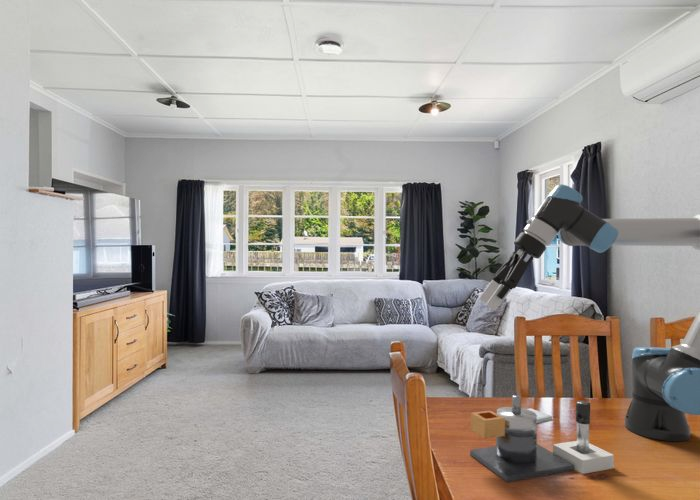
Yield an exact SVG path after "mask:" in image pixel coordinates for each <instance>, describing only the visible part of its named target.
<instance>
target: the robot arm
mask: <svg viewBox="0 0 700 500" xmlns="http://www.w3.org/2000/svg"><path fill="white" fill-rule="evenodd" d="M582 201H583V196H582V194H581V193H580V192H578V191H577V189H574V187H572V186H568V185H566V184H557V185H556V186H554V188H553V189H552V190H551V191H550V193H549V194H548V195H547V196H545V199H544V200H543V201H542V203H541V204H540V206H539V207H538V208H537V210H536V211H535V213H534V214H533V215H532V217H531V219H527V220H526V225H525V227H523V231H522V232H520V233H519V234H518V236H517V237H516V239H515V240H514V241H513V242H514V245H515V247H517V248H518V250H517V251H515V250H514V251H513V252H512V253H511V254H510V256H509V257H508V258H507V260H506V261H505V262H504V263H503V265H501V267H500V268H499V269H498V270H497V271H496V272H495V273H494V274H493V276H492V280H491V281H490V282H489V284H488V285H487V287H486V288H485V289H484V291H483V292H482V293H481V294H480V295H479V297H478V299H479V300H480V301H482V302H483V303H484V304H485V306H487V308H489V309H491V310H492V311H494V312H495V311H497V310H498V308H499V307H500V305H501V304H502V302H504V301H505V299H506V297H507V296H508V295H509V293H510V292H511V291H512V290H513V289H515V288H517V286H518V284H519V283H520V281H521V279H522V277H523V275H524V273H525V272H526V270H527V268H528V267H529V265H530V264H531V262H532V261H533V260H534V259H540V258H541V256H542V255H543V254H544V252H545V251H546V249H547V246H550V244H551V243H552V242H553V241H554V239H555V238H556V237H558V240H560V242H561V243H563V244H564V245H566V246H570V247H575V246H578V247H579V246H580V247H581V246H584V247H585V246H586V247H588V248H589V249H590V250H593V251H594V252H596V253H598V254H599V253H600V254H601V253H605V252H606V251H607V250H608V249H610V248H611V246H631V247H632V246H636V247H637V246H638V247H639V246H641V247H642V246H647V247H649V246H656V247H657V246H659V247H660V246H663V247H664V246H666V247H668V246H669V247H671V246H674V247H676V246H677V247H679V246H680V247H683V246H685V247H688V246H689V247H691V248H693V249H694V250H699V251H700V214H698V213H697V214H695V215H693V217H688V218H687V217H684V218H683V217H680V218H679V217H677V218H676V217H673V218H671V217H670V218H667V217H666V218H665V217H664V218H663V217H662V218H657V217H656V218H654V217H653V218H601V217H600V216H598V215H596V214H594V212H591V211H590V210H588V209H587V208H585V207H583V205H581V204H582ZM631 356H632V357H631V376H632V377H631V388H632V389H631V391H632V392H631V402H630V404H629V406H628V409H627V411H626V414H625V416H624V427H625V428H626V429H628V430H629V431H630V432H632V433H634V434H635V435H636V434H637V435H640V436H643V437H645V438H648V439H649V438H650V439H653V440H657V441H658V440H660V441H664V442H665V441H666V442H685V441H688V440H690V439H691V427H690V426H689V423H688V419H687V416H686V414H687V415H691V416H692V415H693V416H700V308H698V312H697V313H696V314H695V317H694V318H693V320H692V323H691V325H690V327H689V329H688V330H687V333H686V334H685V336H684V339H683V340H682V342H681V343H680V344H677V345H673V346H671V347H670V348H669V347H657V346H654V347H653V346H637V347H635V348H633V349H632V355H631Z"/></svg>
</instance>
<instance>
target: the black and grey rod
mask: <svg viewBox="0 0 700 500" xmlns="http://www.w3.org/2000/svg"><path fill="white" fill-rule="evenodd" d="M575 423H576V441H577V452H579V453H581V454H589V443H590V424H591V402H589V401H585V400H576V401H575Z"/></svg>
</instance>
